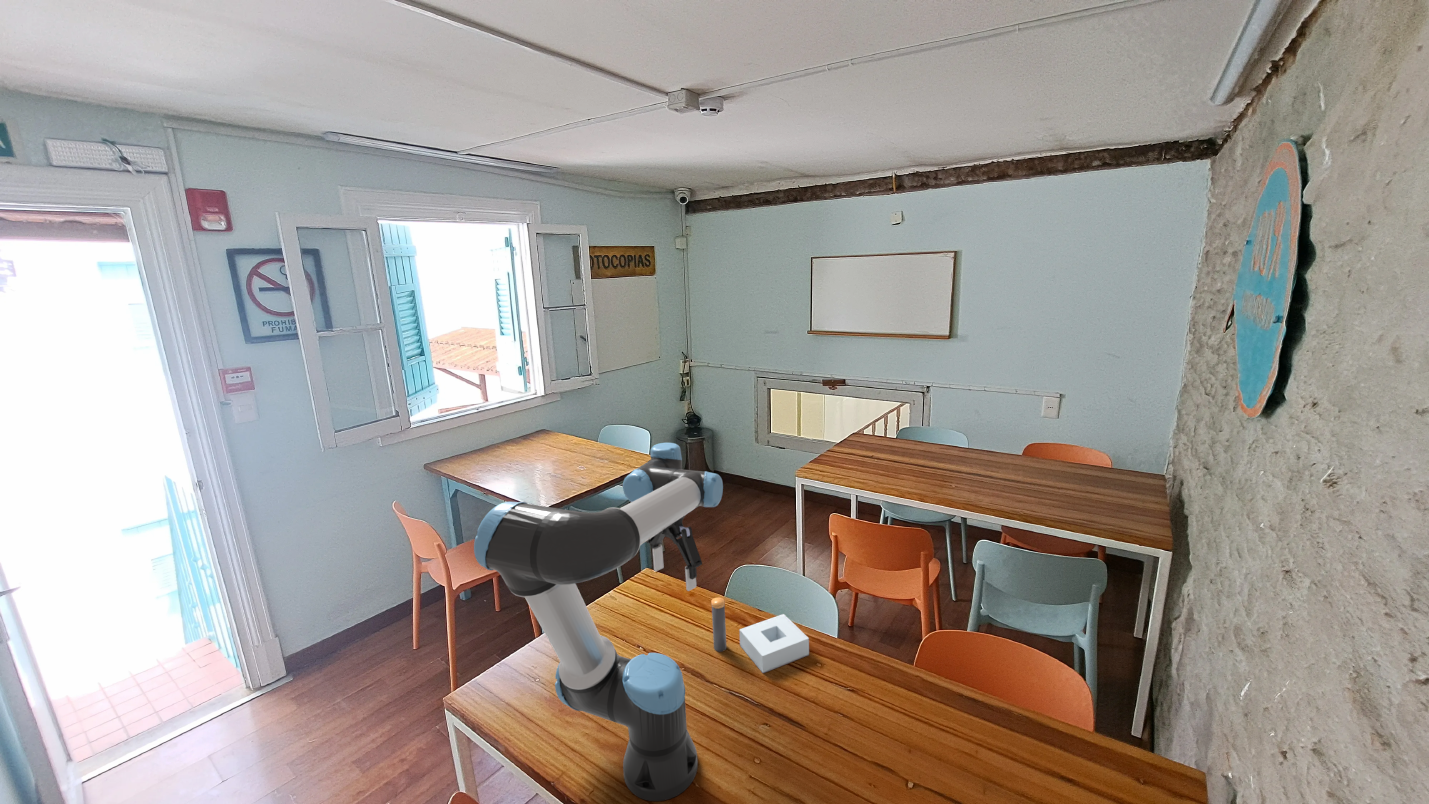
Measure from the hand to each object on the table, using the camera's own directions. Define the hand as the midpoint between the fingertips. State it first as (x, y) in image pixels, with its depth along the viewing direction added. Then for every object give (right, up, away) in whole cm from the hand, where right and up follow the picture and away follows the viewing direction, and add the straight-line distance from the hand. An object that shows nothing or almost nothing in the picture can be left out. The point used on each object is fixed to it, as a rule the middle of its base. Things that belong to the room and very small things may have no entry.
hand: (674, 578), depth 143 cm
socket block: (+26, -20, +2) cm, 33 cm away
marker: (+12, -20, +4) cm, 23 cm away
